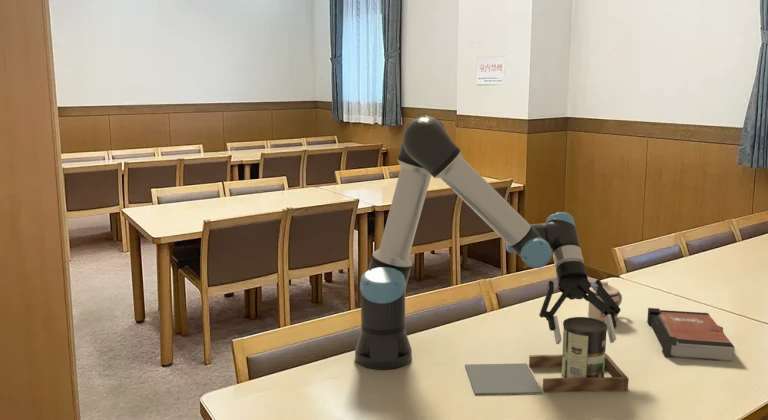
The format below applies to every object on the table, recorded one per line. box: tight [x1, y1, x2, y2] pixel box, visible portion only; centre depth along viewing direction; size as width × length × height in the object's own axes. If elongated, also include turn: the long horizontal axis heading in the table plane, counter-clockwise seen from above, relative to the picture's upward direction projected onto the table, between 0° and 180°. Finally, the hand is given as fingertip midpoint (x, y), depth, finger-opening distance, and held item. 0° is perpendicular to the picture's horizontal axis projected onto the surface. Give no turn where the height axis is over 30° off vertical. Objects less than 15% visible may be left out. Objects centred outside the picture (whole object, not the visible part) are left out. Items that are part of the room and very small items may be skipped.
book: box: [646, 307, 735, 363], centre depth 183 cm, size 26×18×5 cm
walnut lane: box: [528, 353, 629, 393], centre depth 160 cm, size 20×15×3 cm
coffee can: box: [560, 316, 607, 378], centre depth 159 cm, size 10×10×14 cm
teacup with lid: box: [587, 280, 623, 323], centre depth 201 cm, size 12×9×12 cm
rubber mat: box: [464, 362, 544, 396], centre depth 160 cm, size 16×16×1 cm
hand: (586, 341), depth 161 cm, fingers open, 13 cm apart
